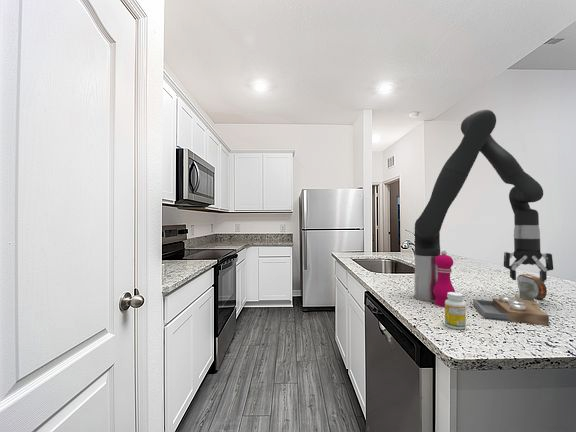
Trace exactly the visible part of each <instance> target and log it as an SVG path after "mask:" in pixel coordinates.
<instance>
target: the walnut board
mask: <svg viewBox="0 0 576 432" xmlns="http://www.w3.org/2000/svg"><path fill="white" fill-rule="evenodd" d="M491 301H493V306H494V307H495V308H496V309H497V310H498V311H499V312H500V313H503V314H508V321H507V322H513V323H520V322H521V323H523V324H529V325H530V324H532V325H540V326H548V327H549V326H550V315H549V314H547V313H546V312H544V311H542V310H541V308H540V309H538V308H536V307H535V306H533V305H532V304H530V303H529V302H527V301H522V302H524V305H525V306H526V311H515V310H511V309H510V308H509V305H508V303H503V302H500V301H499V298H495V297H494V298H493V297H492V299H491ZM521 323H520V324H521Z"/></svg>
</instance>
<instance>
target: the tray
mask: <svg viewBox="0 0 576 432" xmlns="http://www.w3.org/2000/svg"><path fill="white" fill-rule="evenodd" d="M472 305H473V306H474V307H475V308H476V309H477V311H478V312H479V313H480V314H481V316H482V317H483V318H484V319H485V320H486V319H487V320H496V321H504V322H509V321H508V314H503V313H500V312H499V311H498V310H497V309H496V308H495V307H494V306H493V300H486V299H475V298H473V299H472Z"/></svg>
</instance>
